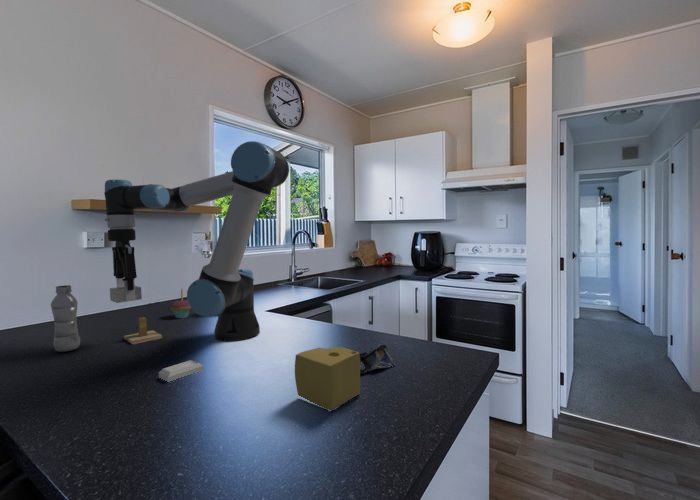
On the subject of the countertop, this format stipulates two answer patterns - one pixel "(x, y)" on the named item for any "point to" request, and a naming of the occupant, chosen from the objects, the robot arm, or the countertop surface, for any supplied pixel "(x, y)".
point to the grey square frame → (123, 294)
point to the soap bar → (180, 370)
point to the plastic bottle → (65, 320)
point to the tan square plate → (142, 333)
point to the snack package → (375, 358)
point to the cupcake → (181, 307)
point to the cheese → (328, 375)
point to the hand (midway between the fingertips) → (126, 298)
